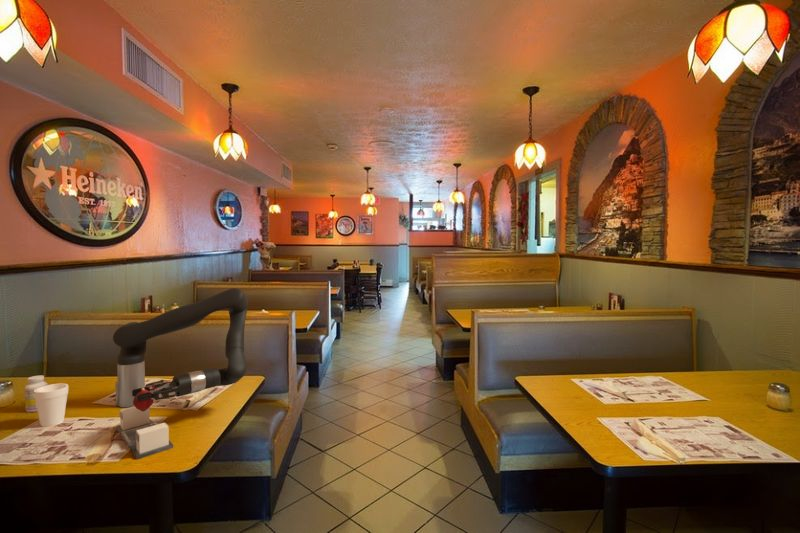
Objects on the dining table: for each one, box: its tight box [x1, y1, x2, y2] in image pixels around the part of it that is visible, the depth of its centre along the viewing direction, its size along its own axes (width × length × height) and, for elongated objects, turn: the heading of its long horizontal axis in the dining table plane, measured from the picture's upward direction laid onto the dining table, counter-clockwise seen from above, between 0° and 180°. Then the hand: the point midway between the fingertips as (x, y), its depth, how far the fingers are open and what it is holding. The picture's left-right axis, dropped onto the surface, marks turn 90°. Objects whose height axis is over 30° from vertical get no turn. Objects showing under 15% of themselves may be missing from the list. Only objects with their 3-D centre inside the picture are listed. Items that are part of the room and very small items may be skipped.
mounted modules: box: [119, 406, 170, 454], centre depth 132 cm, size 26×8×6 cm, turn 46°
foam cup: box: [34, 383, 69, 428], centre depth 142 cm, size 10×9×13 cm
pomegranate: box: [133, 388, 155, 411], centre depth 132 cm, size 6×6×8 cm
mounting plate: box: [115, 419, 174, 460], centre depth 132 cm, size 28×11×2 cm, turn 46°
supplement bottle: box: [24, 374, 49, 413], centre depth 153 cm, size 7×7×13 cm
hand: (134, 395), depth 130 cm, fingers closed on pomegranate, 5 cm apart
